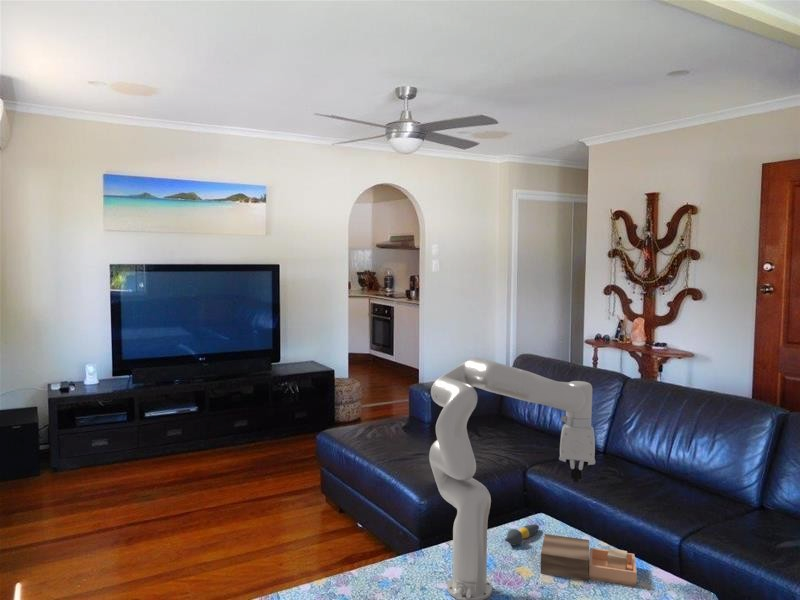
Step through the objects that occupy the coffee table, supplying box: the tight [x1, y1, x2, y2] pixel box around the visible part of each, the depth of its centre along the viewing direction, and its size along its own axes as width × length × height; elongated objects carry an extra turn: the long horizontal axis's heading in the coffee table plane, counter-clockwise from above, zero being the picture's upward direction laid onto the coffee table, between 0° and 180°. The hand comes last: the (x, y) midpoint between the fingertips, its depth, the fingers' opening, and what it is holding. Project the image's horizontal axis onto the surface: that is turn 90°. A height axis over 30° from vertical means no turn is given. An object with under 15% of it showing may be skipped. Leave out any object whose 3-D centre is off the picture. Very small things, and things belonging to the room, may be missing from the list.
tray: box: [588, 547, 638, 587], centre depth 180 cm, size 12×13×4 cm
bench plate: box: [540, 533, 590, 581], centre depth 184 cm, size 14×14×6 cm
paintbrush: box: [504, 523, 540, 546], centre depth 202 cm, size 20×5×5 cm, turn 142°
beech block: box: [607, 547, 628, 570], centre depth 180 cm, size 5×5×5 cm
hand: (576, 480), depth 185 cm, fingers closed
